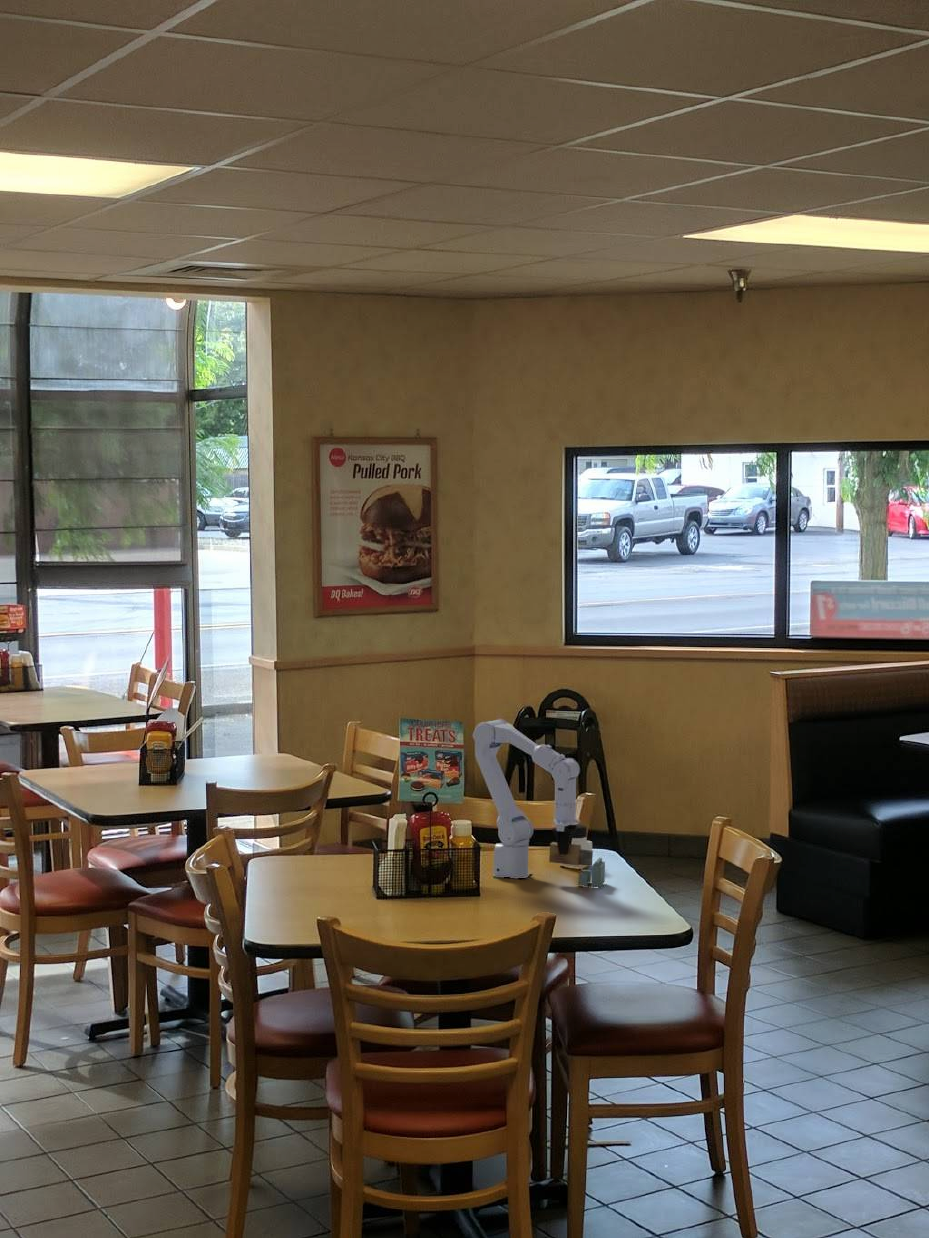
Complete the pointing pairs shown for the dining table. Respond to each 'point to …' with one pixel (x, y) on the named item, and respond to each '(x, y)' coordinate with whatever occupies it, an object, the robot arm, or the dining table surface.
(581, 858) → the rail
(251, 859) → the dining table surface
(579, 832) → the medicine bottle
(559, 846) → the robot arm
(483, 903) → the dining table surface
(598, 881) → the grey boxy pieces
